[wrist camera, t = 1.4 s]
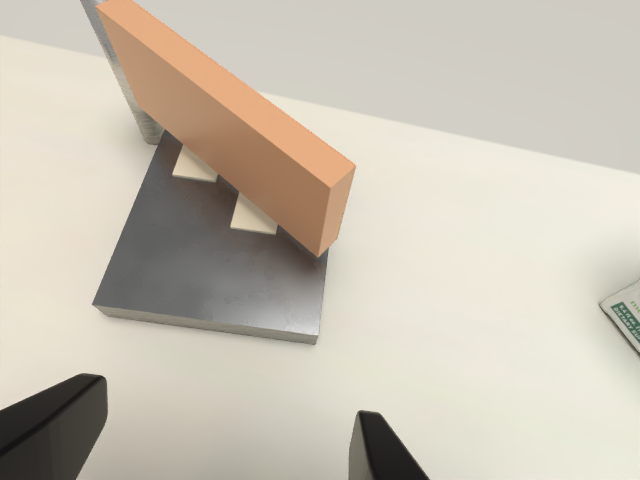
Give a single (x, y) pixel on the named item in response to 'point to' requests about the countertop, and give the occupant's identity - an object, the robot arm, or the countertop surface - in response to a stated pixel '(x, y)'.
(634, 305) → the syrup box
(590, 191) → the countertop surface
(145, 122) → the plate
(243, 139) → the peach rectangular plank
